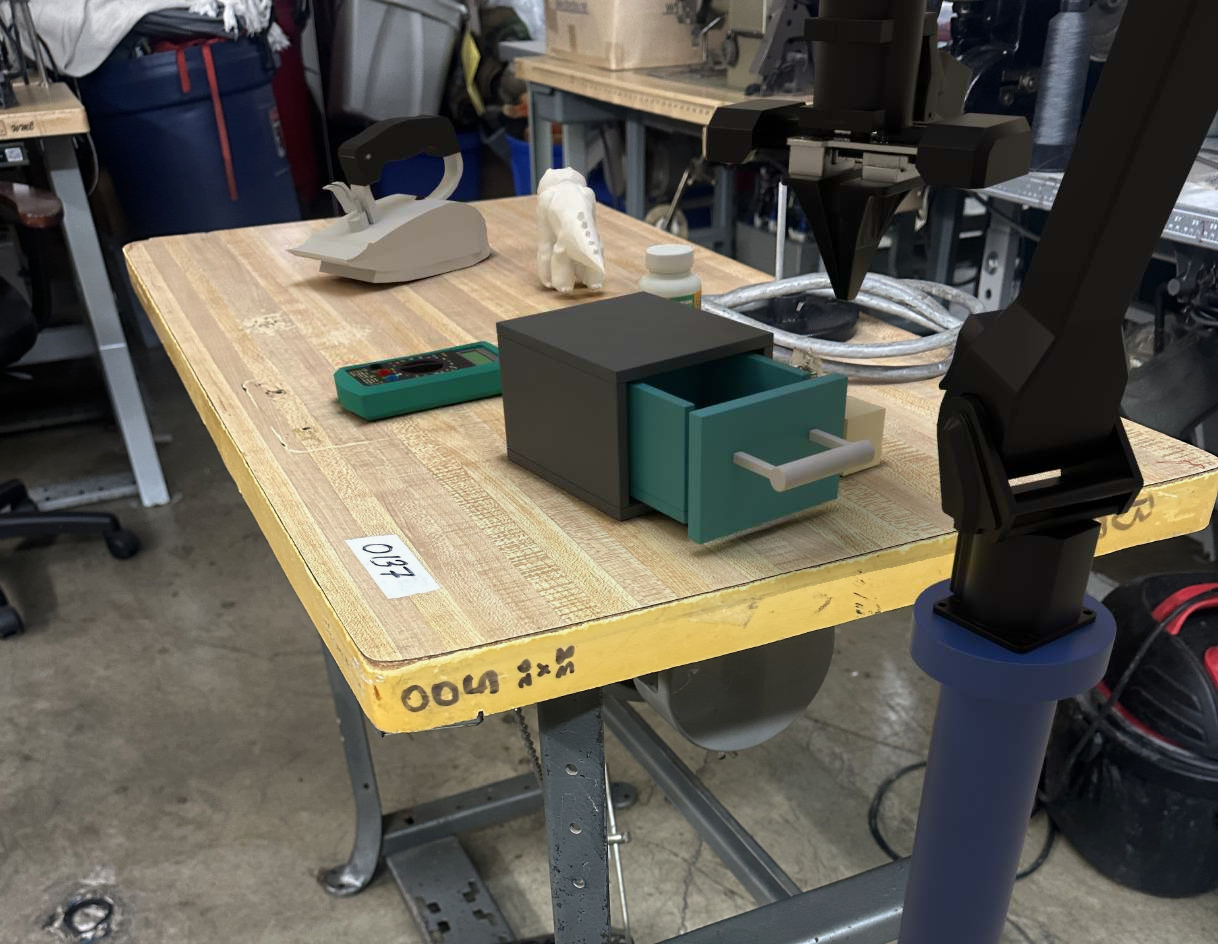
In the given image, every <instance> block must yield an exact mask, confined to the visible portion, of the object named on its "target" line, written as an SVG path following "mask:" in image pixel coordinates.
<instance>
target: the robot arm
mask: <svg viewBox="0 0 1218 944" xmlns="http://www.w3.org/2000/svg"><path fill="white" fill-rule="evenodd" d="M927 3H928V0H819V3H818V16H814V17H806V18H804V23H803V42H816V47H815V48H816V49H815V63H814V77H813V78H814V79H813V93H812V94H813V97H812V103H809V104H807V103H806V101H804V100H803V101H801V100H787V99H772V98H756V99H751V100H746V101H745V100H744V101H741V102H735V103H731V104H724V105H720V106H717V107H716V108H715V110H714V112H713V114H712V116H711V118H710V120H709V121H708V123H707V126H706V127H705V147H704V148H705V152H704V153H705V154H704V156H705V159H704V160H706V162H713V163H723V164H731V165H739V166H740V165H745V164H747V163H748V162H749V160H751V158H752V157H753V156H754V154H755V153H756V152H757V151H758V150H765V151H766V150H767V151H775V152H776V151H777V152H785V153H789V160H788V172H786V173H783V174H781V175H780V184H781V186H784V187H789V188H791V190H792V191H793V194H794V197H795V198H796V200H797V202H798V204H799V206H800V209H801V211H802V213H803V215H804V217H805V220H806V222H807V224H808V226H809V229H810V231H811V234H812V236H813V238H814V241H815V243H816V246H817V248H818V251H819V255H820V258H821V261H822V263H823V265H824V269H825V271H826V274H827V277H828V279H829V283H830V285H831V288H832V291H833V294H834V297H835V299H836V300H837V301H841V302H845V303H849V302H851V301H854V300H855V299H857V297H858V295H859V293H860V291H861V288H862V285H863V283H864V281H865V278H866V276H867V274H868V272H869V269H870V268H871V264H872V263H873V260H874V258H875V256H876V253H877V251H878V248H879V246H880V244H881V241H882V240H883V237H884V235H885V233H886V230H887V229H888V227H889V225H890V223H891V221H892V219H893V217H894V215H895V213H896V212H897V210H898V208H899V207H900V206H901V204H902V202H903V201H904V200H905V199H906V198H907V197H908V195H909V194H910V193H911V192H912V191H913V190H914V189H917V188H920V187H923V186H935V187H943V188H953V189H963V190H984V189H987V188H991V187H994V186H996V185H997V186H998V185H999V184H1003V183H1006V182H1009V181H1012V180H1015V179H1018V178H1021V177H1023V176H1027V175H1029V174H1030V166H1031V162H1032V156H1033V151H1034V144H1035V140H1034V136H1033V131H1032V129H1031V126H1030V124H1029V122H1028V119H1027V118H1026V116H1018V115H1017V116H1016V115H1005V114H990V113H977V112H976V113H973V112H968V113H963V114H962V111H963V108H964V105H965V100H966V97H967V95H968V90H969V86H970V83H971V80H972V76H973V71H972V69H970V68H969V67H967V66H966V65H965V64H964V63H962V62H961V61H960V60H958V59H957V58H956V57H954V56H953V54H950V53H949V52H946V51H944V50H940V49H939V46H938V34H939V22H938V11H927ZM1217 114H1218V0H1127V3H1126V4H1125V8H1124V11H1123V14H1122V16H1121V19H1120V22H1119V24H1118V27H1117V29H1116V32H1115V35H1114V37H1113V40H1112V43H1111V46H1110V49H1109V51H1108V53H1107V57H1106V59H1105V62H1104V65H1103V67H1102V70H1101V72H1100V75H1099V78H1098V80H1097V83H1096V86H1095V89H1094V92H1093V94H1092V97H1091V99H1090V103H1089V105H1088V107H1087V111H1086V113H1085V115H1084V116H1085V117H1084V118H1083V121H1082V124H1081V127H1080V130H1079V132H1078V135H1077V137H1076V140H1075V143H1074V145H1073V149H1072V151H1071V154H1070V157H1069V159H1068V162H1067V165H1066V166H1065V170H1064V172H1063V176H1062V178H1061V180H1060V183H1059V186H1058V189H1057V192H1056V194H1055V197H1054V200H1053V202H1052V205H1051V207H1050V210H1049V213H1048V215H1047V219H1046V221H1045V223H1044V227H1043V229H1042V232H1041V235H1040V237H1039V241H1038V243H1037V245H1036V248H1035V251H1034V254H1033V256H1032V259H1031V262H1030V264H1029V266H1028V270H1027V272H1026V275H1025V278H1024V280H1023V283H1022V285H1021V288H1020V289H1019V292H1018V294H1017V295H1016V296H1015V298H1014V299H1013V300H1012V301H1011V302H1010V303H1009V304H1008V305H1007V306H1006V307H1005V308H1001V309H996V310H995V309H994V310H990V311H983V312H977V313H971V314H969V315H968V316H967V317H966V319H965V320H964V322H963V323H962V325H961V327H960V328H959V330H958V332H957V337H956V342H955V347H954V351H953V355H952V359H951V362H950V365H949V366H948V369H947V371H946V373H945V375H944V376H943V377H942V379H940V381H939V383H938V389H939V391H945V392H944V394H943V397H942V399H941V402H940V405H939V409H938V414H937V420H936V444H937V445H936V446H937V456H938V457H937V459H938V460H937V461H938V473H939V474H938V475H939V487H940V488H939V489H940V498H941V499H940V502H941V510H942V511H941V512H942V513H944V514H945V515H946V516H948V517H950V518H951V519H952V520H953V521H952V522H953V526H952V528H953V529H954V530H956V531H957V537H956V543H955V549H954V555H953V561H952V567H951V573H950V578H951V579H950V586H949V588H950V591H951V592H952V593H953V595H951V596H949V597H946V598H944V599H941V600H939V601H936V602H935V603H934V604H933V613H935V614H936V615H939V616H941V617H943V618H945V619H947V620H949V621H951V622H953V623H955V624H957V625H959V626H961V627H963V628H965V629H967V630H969V631H971V632H973V633H975V634H977V635H979V636H981V637H983V638H985V639H987V640H989V641H991V642H993V643H995V644H997V645H999V646H1001V647H1003V648H1005V649H1007V650H1009V651H1011V652H1013V653H1016V654H1026V653H1029V652H1031V651H1033V650H1035V649H1038V648H1040V647H1042V646H1044V645H1046V644H1048V643H1051V642H1053V641H1055V640H1057V639H1059V638H1062V637H1064V636H1066V635H1068V634H1070V633H1072V632H1075V631H1077V630H1079V629H1081V628H1083V627H1086V626H1088V625H1090V624H1092V623H1094V622H1095V621H1096V617H1097V613H1096V611H1094V610H1092V609H1089V608H1087V607H1085V606H1083V601H1084V597H1085V593H1087V588H1088V583H1089V581H1090V575H1091V571H1092V567H1093V563H1094V558H1095V555H1096V550H1097V547H1098V541H1099V537H1100V533H1101V530H1102V526H1103V524H1102V522H1100V521H1098V520H1097V519H1101V518H1104V517H1109V516H1113V515H1115V516H1120V515H1125V514H1128V513H1129V511H1130V509H1131V508H1132V506H1134V505H1133V504H1134V503H1135V502H1136V500H1137V498H1138V497H1139V495H1140V493H1141V492H1142V490H1143V488H1144V486H1145V480H1144V477H1143V474H1142V471H1141V468H1140V466H1139V463H1138V460H1137V457H1136V455H1135V453H1134V450H1133V448H1132V444H1131V442H1130V439H1129V436H1128V434H1127V430H1126V428H1125V425H1124V423H1123V421H1122V417H1121V414H1120V412H1119V410H1120V407H1121V403H1122V401H1123V398H1124V394H1125V391H1126V389H1127V385H1128V382H1129V377H1130V366H1129V361H1128V360H1129V359H1128V354H1127V347H1126V341H1125V334H1124V328H1123V323H1124V320H1125V317H1126V314H1127V312H1128V310H1129V308H1130V305H1131V303H1132V301H1133V300H1134V299H1133V298H1134V297H1135V294H1136V292H1137V290H1138V287H1139V285H1140V283H1141V281H1142V279H1143V277H1144V275H1145V272H1146V270H1147V268H1148V265H1149V263H1150V261H1151V259H1152V257H1153V254H1154V253H1155V250H1156V247H1157V246H1158V244H1159V242H1160V239H1161V237H1162V234H1163V232H1164V230H1165V228H1166V226H1167V223H1168V221H1169V219H1170V217H1171V215H1172V212H1173V210H1174V208H1175V207H1176V203H1177V201H1178V200H1179V197H1180V195H1181V193H1182V190H1183V188H1184V186H1185V184H1186V182H1187V179H1188V178H1189V175H1190V174H1191V170H1192V168H1193V166H1194V164H1195V162H1196V160H1197V157H1198V155H1199V153H1200V150H1201V148H1202V146H1203V144H1204V142H1205V140H1206V138H1207V135H1208V133H1209V132H1210V129H1211V126H1212V125H1213V122H1214V120H1215V118H1216V115H1217ZM856 159H857V160H862V163H858V162H855V161H856ZM1054 471H1059V472H1060V475H1057V476H1052V477H1047V478H1042V479H1038V480H1034V481H1029V482H1024V483H1019V484H1014V485H1011V484H1010V481H1011V480H1016V479H1020V478H1026V477H1030V476H1035V475H1040V474H1044V473H1049V472H1054ZM1095 519H1096V520H1095Z"/></svg>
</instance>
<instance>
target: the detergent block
mask: <svg viewBox="0 0 1218 944" xmlns="http://www.w3.org/2000/svg"><path fill="white" fill-rule="evenodd" d="M886 411H887V408H886V407H884V406H881V405H878V404H875V403H872V402H869V401H868V400H867V401H866V400H864V399H861V398H858V397H855V396H852V395H847V398H846V409H845V420H844V432H843V439H844V440H847V441H849V442H852V443H854V442H857V441H861V440H869V441H870V442H871V443H872V444H873V446H874V450H875V456H874V459H873V460H872V462H870V463H868V464H865V465H862V466H859V467H856V468H853V469H850V470H847V471H843V472H840V476H842V477H845V476H847V475H851V474H854V473H857V472H860V471H864V470H867V469H869V468H873V467H875V466H879V465H880V464H881V456H882V448H883V447H882V446H883V438H884V430H885V429H884V428H885V423H886V422H885V421H886V420H885V419H886Z"/></svg>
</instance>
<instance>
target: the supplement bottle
mask: <svg viewBox="0 0 1218 944" xmlns="http://www.w3.org/2000/svg"><path fill="white" fill-rule="evenodd" d="M694 251H695V249H694V247H693V246H690V245H687V244H681V243H666V244H665V243H664V244H657V245H653V246H650V247H648V248H646V249H645V263H644V265H645V266H646V267H645V268H646V269H647V270H648V273H646V274H645V275H643V277H641V279H640V280H639V283H638V287H637V289H638V291H637V292H642V291H645V292H648V293H651V294H654V295H657V296H660V297H663V298H666V299H669V300H673V301H676V302H679V303H682V304H685V305H688V306H691V307H694V308H698V309H701V310H702V293H703V292H702V291H703V290H702V289H703V287H702V281H701V279H700V277H699V276H698V275H697V274H696V273H694V272H693V271H691V269H692V268H693V267H694V264H695V255H694V254H695V252H694Z"/></svg>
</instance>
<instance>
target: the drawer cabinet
mask: <svg viewBox="0 0 1218 944" xmlns="http://www.w3.org/2000/svg"><path fill="white" fill-rule="evenodd" d="M495 330H496V341H497V347H498V352H499V363H500V375H501V386H502V394H501V395H502V397H501V398H502V406H503V419H504V420H503V421H504V429H505V440H506V456H507V459H508V460H510V461H512V462H513V463H515V464H517V465H519V466H521V467H523V468H524V469H526V470H528V471H530V472H532V473H533V474H535V475H536V476H538V477H540V478H542V479H544V480H546V481H547V482H550V483H551V484H553V485H555V486H557V487H558V488H560V489H562V490H563V491H565V492H567V493H569V494H571V495H573V496H575V497H576V498H578V499H580V500H582V502H583V501H584V502H585V503H587V504H589V505H591V506H592V507H594V508H595V509H596V508H597V509H598V510H600V511H601V512H603V513H605V514H607V515H608V516H610V517H612V518H614V519H616V520H617V521H619V522H622V521H625V520H628V519H631V518H635V517H638V516H641V515H644V514H647V513H650V512H654V511H658V510H657V509H655V508H653V507H651V506H649V505H647V504H645V503H643V502H642V501H640V500H638V499H636V498H634V497H632V496H630V495H629V476H628V434H627V391H626V382H629V381H633V380H637V379H641V378H645V377H649V376H652V375H656V374H660V373H664V372H668V371H672V370H676V369H680V368H684V367H688V366H692V365H696V364H700V363H704V362H708V361H712V360H716V359H720V358H724V357H728V356H732V355H736V354H740V353H744V352H748V351H750V352H753V353H756V354H758V355H761V356H764V357H767V358H770V359H773V360H774V343H775V339H774V338H775V333H774V332H772V331H769V330H766V329H763V328H760V327H757V326H754V325H751V324H747V323H744V322H742V321H737V320H735V319H732V318H728V317H725V316H722V315H719V314H716V313H713V312H710V311H706V310H704V309H702V308H701V309H698V308H694V307H691V306H688V305H685V304H682V303H679V302H676V301H673V300H669V299H666V298H663V297H660V296H657V295H654V294H651V293H648V292H645V291H642V292H638V291H637V292H633V293H632V292H631V293H627V294H622V295H618V296H614V297H609V298H605V299H604V298H603V299H599V300H595V301H590V302H584V303H580V304H575V305H571V306H566V307H562V308H561V307H560V308H557V309H553V310H549V311H547V310H546V311H543V312H538V313H534V314H528V315H524V316H518V317H515V318H510V319H505V320H500V321H496V322H495Z"/></svg>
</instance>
